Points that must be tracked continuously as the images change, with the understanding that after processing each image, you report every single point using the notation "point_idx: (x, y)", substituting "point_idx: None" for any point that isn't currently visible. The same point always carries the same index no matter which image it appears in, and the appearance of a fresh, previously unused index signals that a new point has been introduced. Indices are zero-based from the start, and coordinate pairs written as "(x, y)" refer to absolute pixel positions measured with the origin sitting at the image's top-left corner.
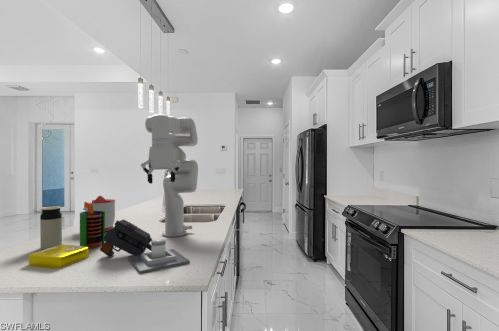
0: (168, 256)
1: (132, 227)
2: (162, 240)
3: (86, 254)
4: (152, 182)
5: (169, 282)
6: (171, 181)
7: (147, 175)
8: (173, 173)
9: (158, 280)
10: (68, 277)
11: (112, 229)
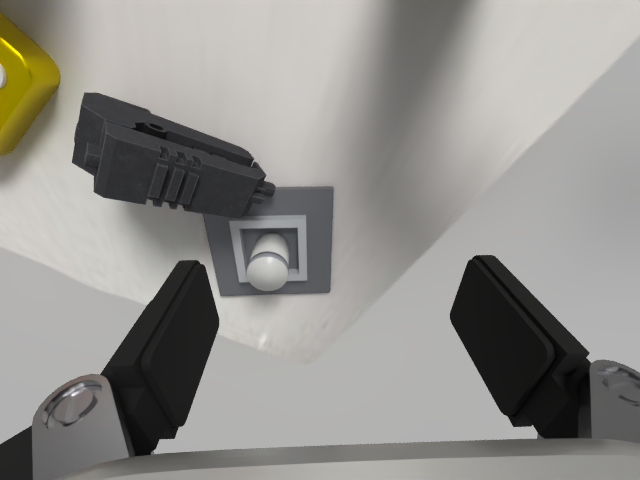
0: (289, 275)
1: (178, 192)
2: (277, 281)
3: (47, 88)
4: (217, 330)
5: (264, 343)
6: (460, 286)
7: (107, 364)
8: (514, 422)
9: (249, 330)
10: (68, 239)
11: (92, 172)
